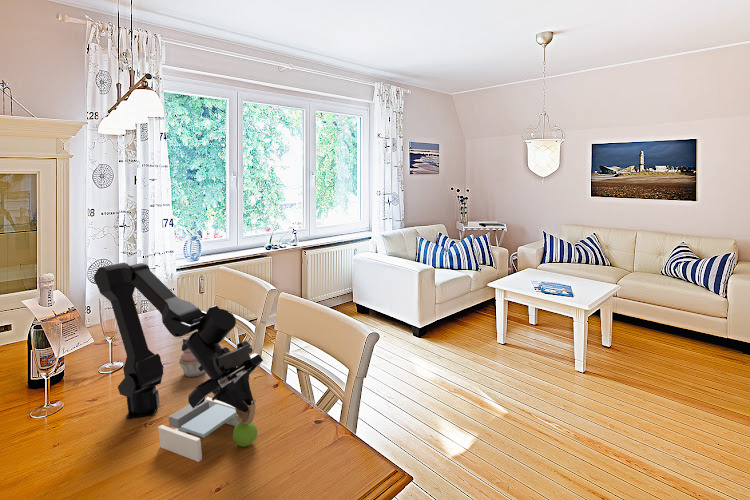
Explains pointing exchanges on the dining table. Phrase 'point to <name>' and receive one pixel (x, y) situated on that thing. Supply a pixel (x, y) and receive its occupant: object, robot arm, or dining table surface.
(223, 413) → the trapdoor
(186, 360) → the cupcake
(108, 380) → the dining table surface
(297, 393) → the dining table surface
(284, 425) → the dining table surface
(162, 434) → the frame
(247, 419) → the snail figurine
